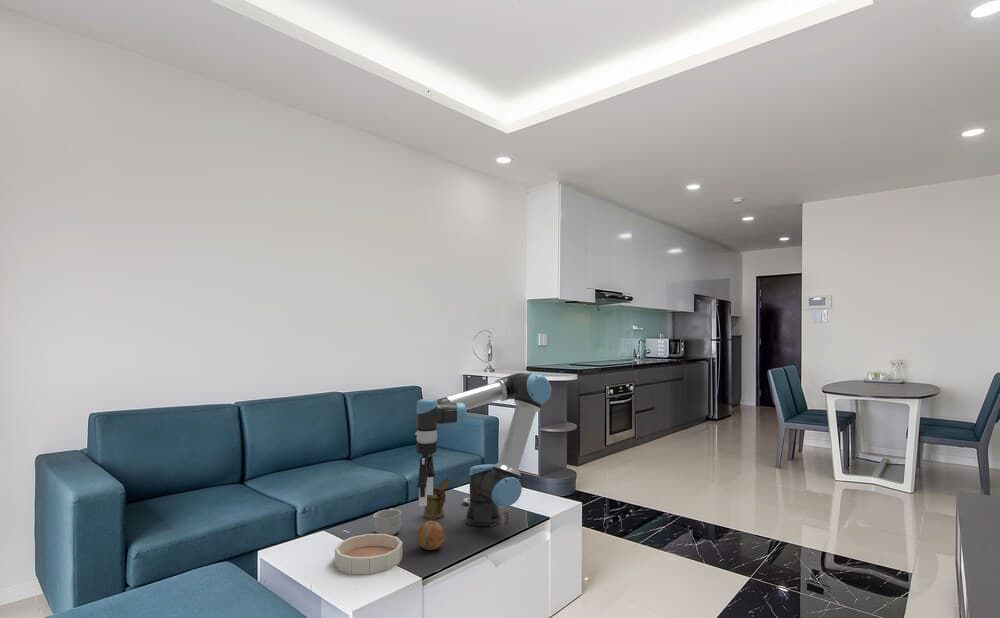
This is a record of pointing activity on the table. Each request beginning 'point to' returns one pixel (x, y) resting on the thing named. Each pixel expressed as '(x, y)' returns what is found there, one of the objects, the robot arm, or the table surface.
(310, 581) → the table surface
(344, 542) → the bowl
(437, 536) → the onion
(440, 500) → the wooden mug
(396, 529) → the teacup
